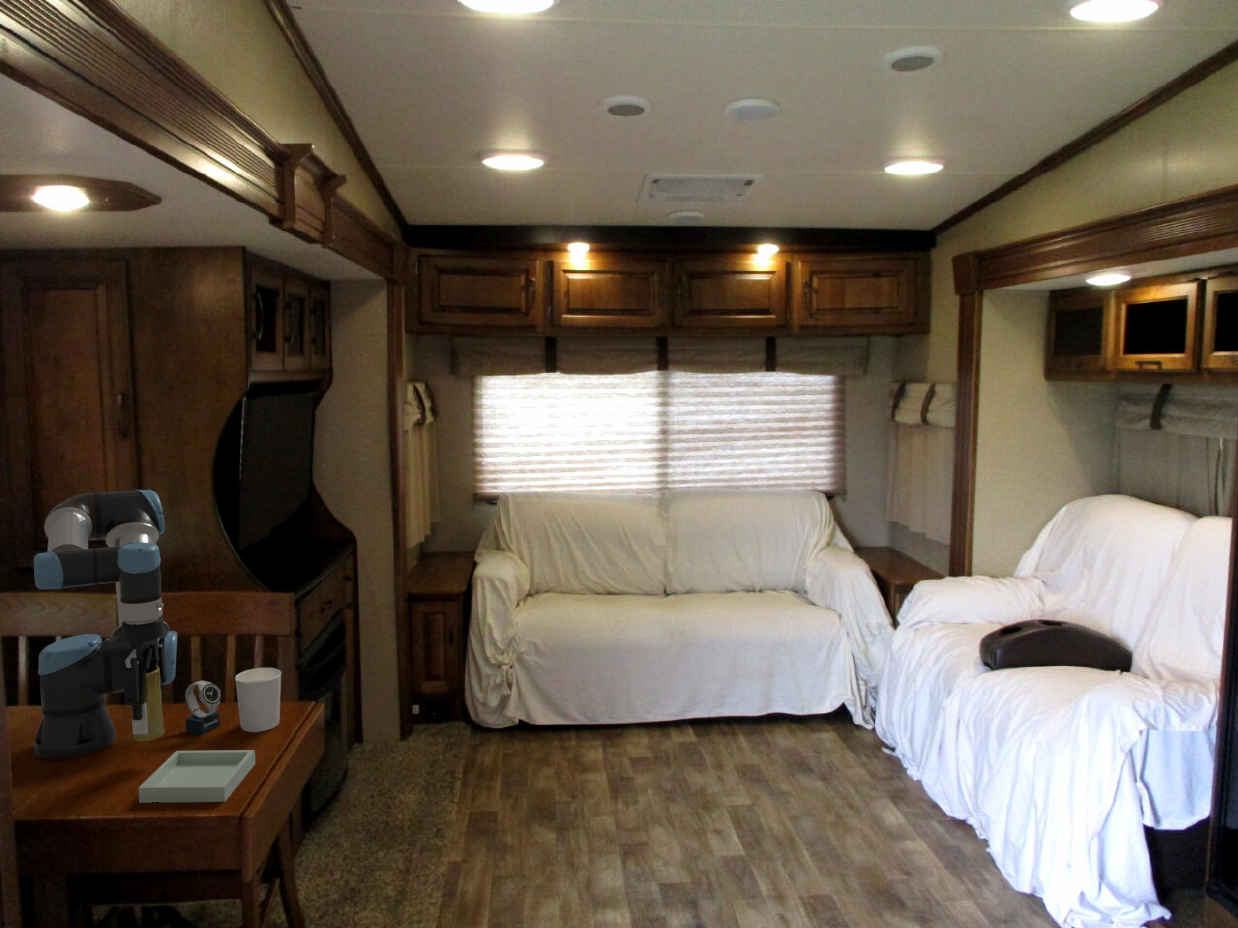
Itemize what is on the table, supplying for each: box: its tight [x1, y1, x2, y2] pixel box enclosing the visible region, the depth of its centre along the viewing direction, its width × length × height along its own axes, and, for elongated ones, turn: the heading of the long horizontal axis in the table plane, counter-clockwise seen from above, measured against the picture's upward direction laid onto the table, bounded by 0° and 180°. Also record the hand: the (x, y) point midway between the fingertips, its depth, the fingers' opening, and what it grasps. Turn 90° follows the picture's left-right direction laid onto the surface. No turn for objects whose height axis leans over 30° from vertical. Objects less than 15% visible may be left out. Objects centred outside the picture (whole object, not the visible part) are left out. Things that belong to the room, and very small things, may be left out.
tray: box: [138, 749, 256, 804], centre depth 177 cm, size 16×16×3 cm
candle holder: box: [234, 667, 282, 733], centre depth 205 cm, size 10×10×12 cm
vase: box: [131, 666, 166, 742], centre depth 185 cm, size 6×6×14 cm
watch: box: [184, 680, 222, 736], centre depth 202 cm, size 6×8×11 cm
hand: (148, 726), depth 185 cm, fingers closed on vase, 6 cm apart
